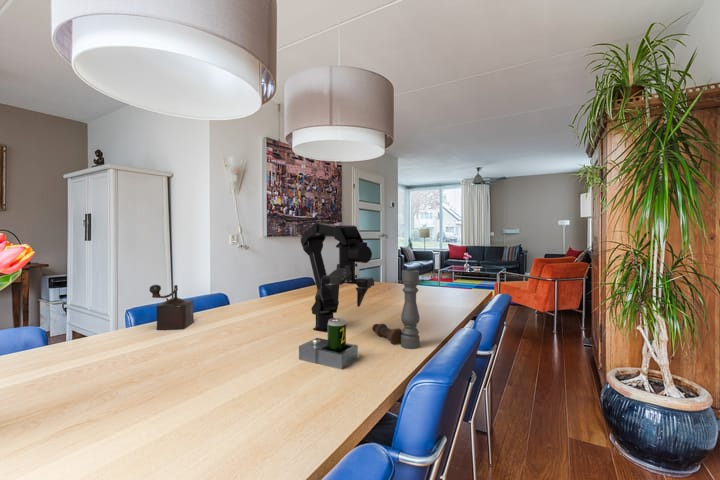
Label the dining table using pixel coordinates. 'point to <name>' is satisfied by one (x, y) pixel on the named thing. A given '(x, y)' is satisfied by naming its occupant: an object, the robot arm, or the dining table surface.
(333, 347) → the beer can
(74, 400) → the dining table surface
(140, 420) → the dining table surface
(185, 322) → the manual coffee grinder
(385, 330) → the bolt
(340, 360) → the jig
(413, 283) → the turned furniture leg
